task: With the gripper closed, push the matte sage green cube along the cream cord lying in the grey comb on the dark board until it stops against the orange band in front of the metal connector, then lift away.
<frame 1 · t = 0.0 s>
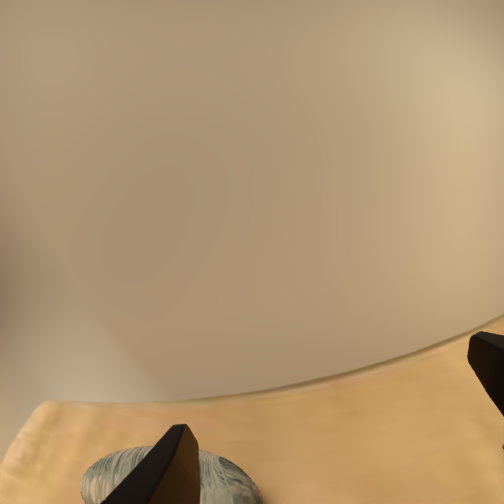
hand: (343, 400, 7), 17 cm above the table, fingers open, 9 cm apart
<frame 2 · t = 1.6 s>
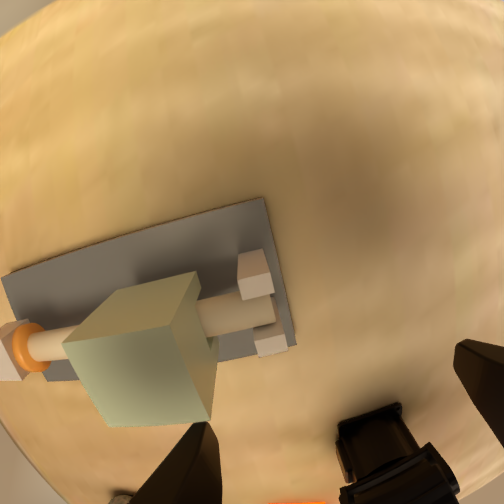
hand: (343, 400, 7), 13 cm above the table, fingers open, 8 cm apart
cord board: (129, 305, 20), on the table
matte sage green cube: (152, 345, 13), point 7 cm above the table, slide at 0.0 cm
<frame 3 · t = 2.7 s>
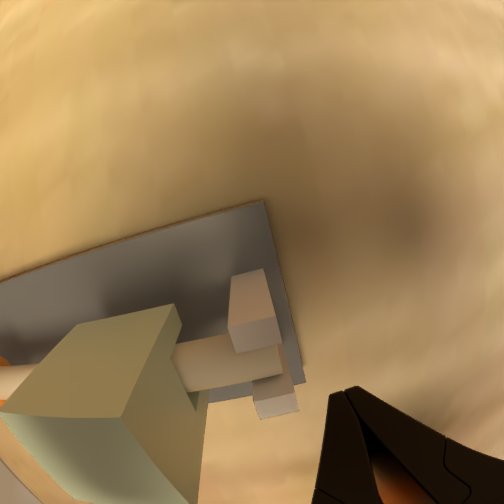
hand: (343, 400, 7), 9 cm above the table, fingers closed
cord board: (102, 334, 16), on the table
matte sage green cube: (118, 406, 9), point 7 cm above the table, slide at 0.0 cm
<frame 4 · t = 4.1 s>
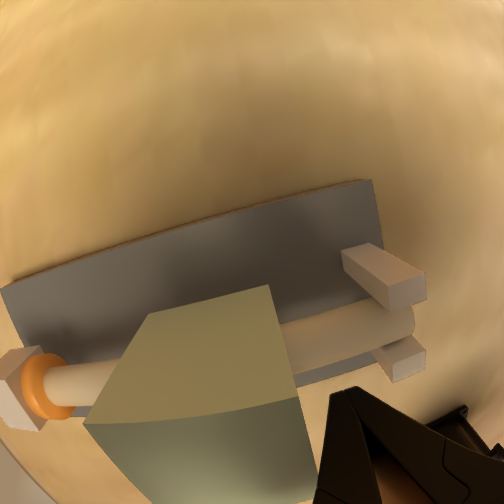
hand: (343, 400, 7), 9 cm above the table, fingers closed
cord board: (181, 322, 16), on the table
matte sage green cube: (218, 399, 9), point 7 cm above the table, slide at 1.4 cm, touching gripper
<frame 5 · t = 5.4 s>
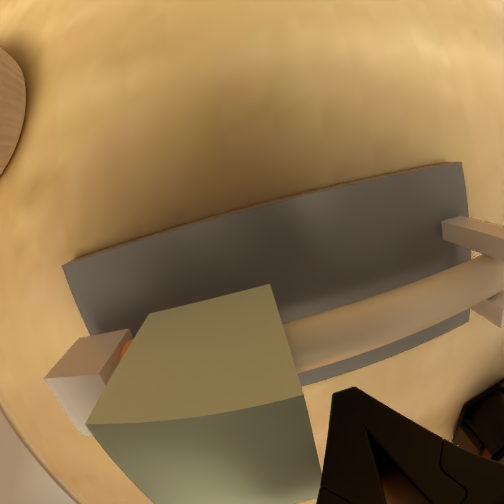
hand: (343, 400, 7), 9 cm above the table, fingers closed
cord board: (290, 294, 16), on the table
matte sage green cube: (220, 398, 9), point 7 cm above the table, slide at 7.5 cm, touching gripper
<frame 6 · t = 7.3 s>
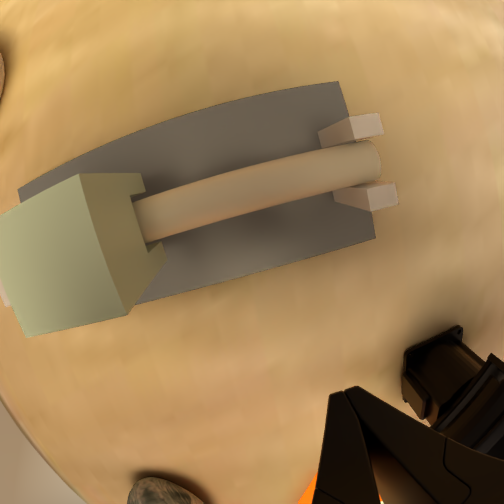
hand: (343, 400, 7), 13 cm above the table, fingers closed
grey rounded oval lump: (176, 495, 26), on the table
cord board: (183, 204, 18), on the table
orange juice: (335, 483, 27), on the table
matte sage green cube: (83, 245, 11), point 7 cm above the table, slide at 7.4 cm
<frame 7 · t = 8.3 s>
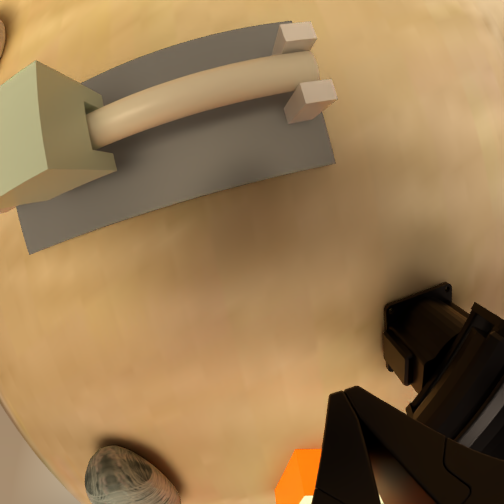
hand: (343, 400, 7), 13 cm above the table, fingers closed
grey rounded oval lump: (142, 471, 25), on the table
cord board: (144, 134, 18), on the table
orange juice: (316, 470, 26), on the table
matte sage green cube: (39, 143, 11), point 7 cm above the table, slide at 7.4 cm
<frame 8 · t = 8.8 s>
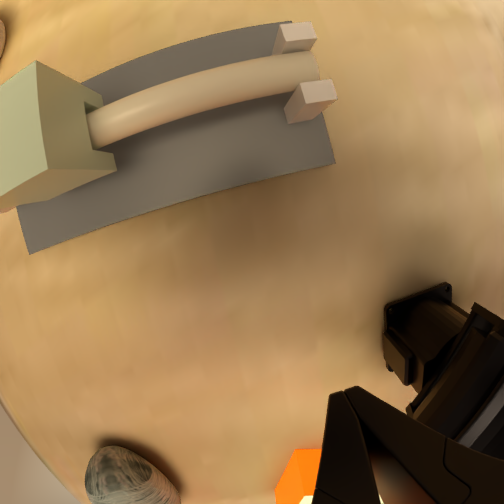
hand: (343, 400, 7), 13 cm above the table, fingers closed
grey rounded oval lump: (142, 471, 25), on the table
cord board: (144, 134, 18), on the table
orange juice: (316, 470, 26), on the table
matte sage green cube: (39, 143, 11), point 7 cm above the table, slide at 7.4 cm
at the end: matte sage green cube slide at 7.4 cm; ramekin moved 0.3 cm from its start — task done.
